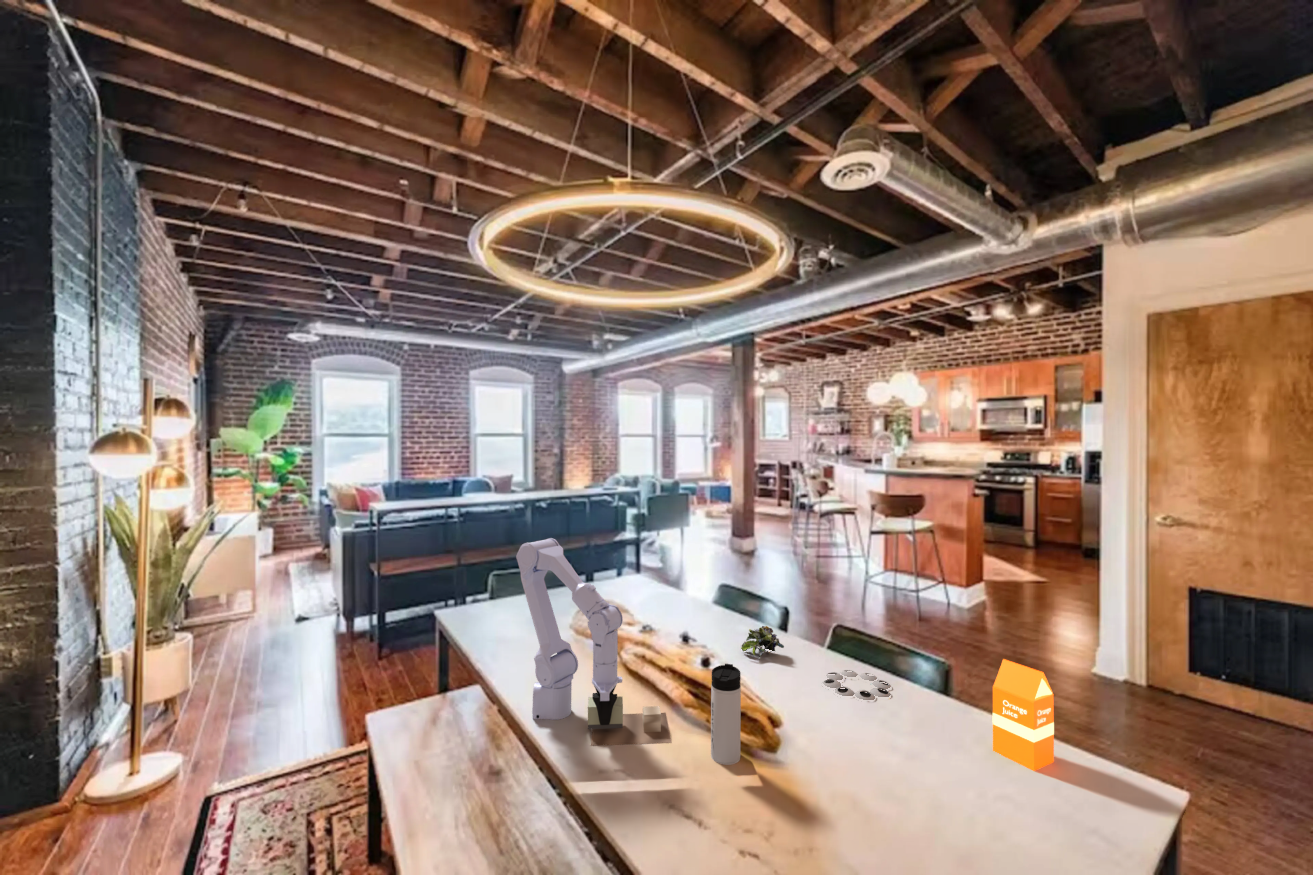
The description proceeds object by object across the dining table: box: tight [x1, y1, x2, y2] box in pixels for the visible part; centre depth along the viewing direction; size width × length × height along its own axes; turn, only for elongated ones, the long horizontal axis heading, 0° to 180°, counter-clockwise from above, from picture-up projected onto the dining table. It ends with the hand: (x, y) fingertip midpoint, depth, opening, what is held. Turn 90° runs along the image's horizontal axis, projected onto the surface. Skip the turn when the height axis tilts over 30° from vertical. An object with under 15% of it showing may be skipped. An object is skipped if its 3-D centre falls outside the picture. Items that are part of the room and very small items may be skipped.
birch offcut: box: [642, 705, 662, 732], centre depth 131 cm, size 4×4×4 cm
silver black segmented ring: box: [822, 669, 892, 700], centre depth 158 cm, size 20×20×2 cm
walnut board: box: [590, 712, 672, 747], centre depth 131 cm, size 18×14×2 cm
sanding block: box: [587, 695, 624, 730], centre depth 130 cm, size 8×5×5 cm, turn 95°
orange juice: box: [992, 658, 1055, 772], centre depth 123 cm, size 8×9×20 cm
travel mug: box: [710, 663, 742, 766], centre depth 119 cm, size 6×7×20 cm
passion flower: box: [740, 625, 785, 657], centre depth 180 cm, size 11×11×12 cm
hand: (604, 718), depth 130 cm, fingers closed on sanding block, 5 cm apart
